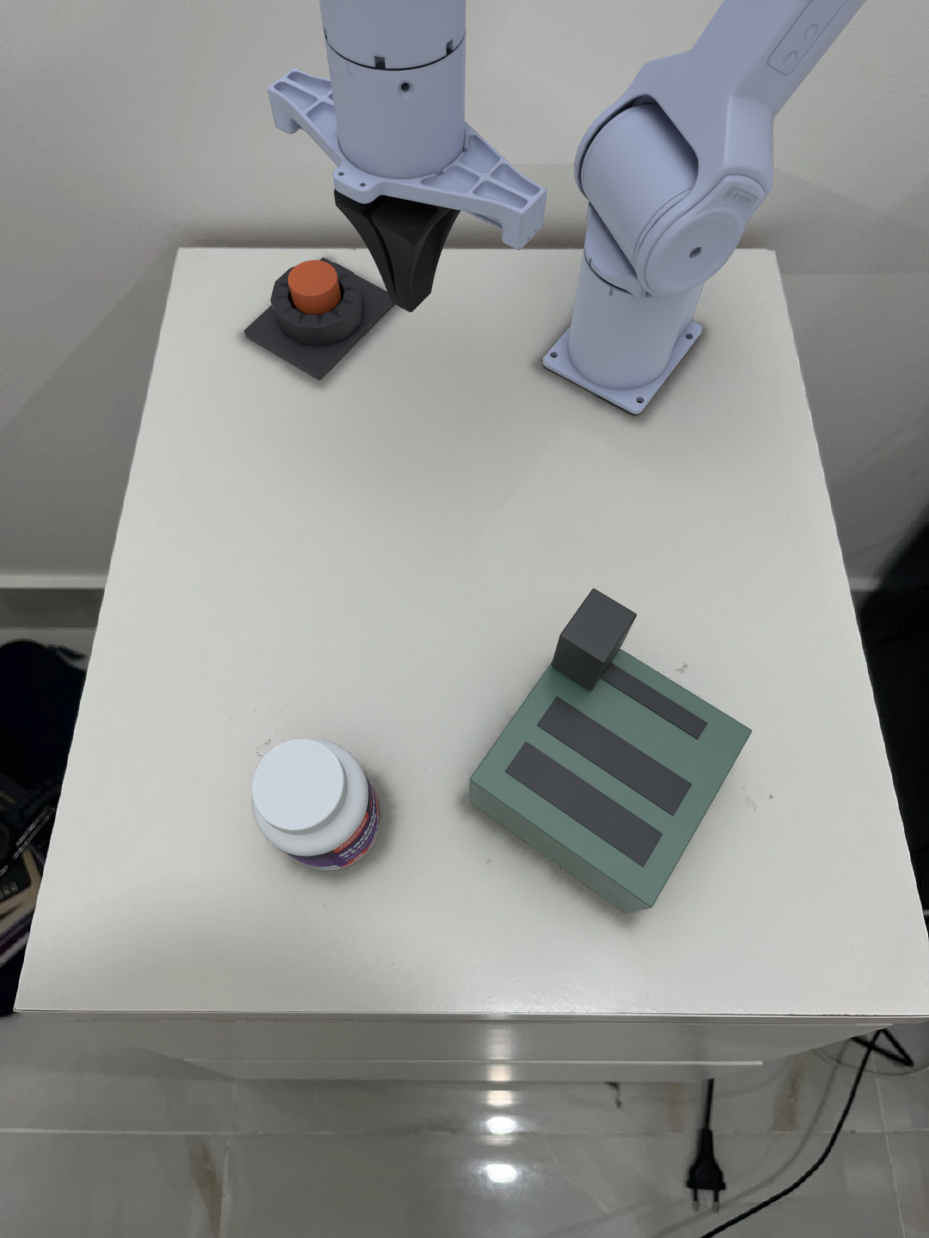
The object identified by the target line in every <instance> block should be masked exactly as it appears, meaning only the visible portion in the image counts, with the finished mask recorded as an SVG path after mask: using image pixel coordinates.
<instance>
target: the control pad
mask: <svg viewBox="0 0 929 1238" xmlns="http://www.w3.org/2000/svg"><path fill="white" fill-rule="evenodd" d="M319 260H320V261H324V262H327V263H328V264H330V265H331V266H332V267H333V268H334V269H335V270H336V273H337V277H338V282H339V288H340V293H341V298H340V301H339V303H338V305H337V306H336V307H335V308H334V309H333V310H331V311H329V312H326V313H323V314H321V315H314V314H306V313H303V312H301V311H300V310H299V309H297V308H296V306H295V305H294V302H293V299H292V295H291V291H290V288H289V284H288V276H289V273H290V271H291V270H292V269H293V268H294V267H295V266H296V265H295V266H291V267H289V268H288V269H287V270H286V271H284V272H283V274H282V275H280V276H279V277H278V278H277V279H276V280H275V281H274V284H273V287H272V292H271V295H270V299H269V301H270V306H268V307H267V308H266V309H265V310H264V311H263V312H262V313H261V314H260V315H259V316H258V317H257V318H255V319H254V320H253V321H252V322H251V323H250V324H249V325H248V326H246V328H245V329H244V330H243V332H244V335H245V338H247V339H248V340H250V341H252V342H253V343H255V344H257V345H259V346H260V347H262V348H264V349H265V350H267V351H268V352H270V353H272V354H274V355H276V356H277V357H280V358H281V359H282V360H283V361H286V362H287V363H289V364H290V365H292V366H295V367H296V368H297V369H300V370H301V371H303V372H304V373H306V374H308V375H309V376H311V377H313V378H315V379H316V380H318V381H321V380H322V379H323V378H324V377H325V376H326V375H327V374H328V373H329V372H330V371H331V370H332V369H333V368H334V367H335V366H336V365H337V364H338V362H340V360H341V359H343V357H345V356H346V355H347V353H349V352H350V350H352V349H353V348H354V346H356V344H357V343H358V342H360V340H361V339H362V338H363V337H365V336H366V334H368V332H369V331H370V330H371V329H372V328H373V327H374V326H375V325H376V324H377V323H378V322H379V321H380V320H381V319H382V318H383V317H385V315H386V314H387V313H388V312H389V311H390V310H391V309H392V308H393V307H394V306H396V305H395V304H393V303H392V301H391V299H390V296H389V294H388V292H387V290H386V289H383V288H382V287H380V286H378V285H376V284H374V283H372V282H371V281H368V280H366V279H365V278H363V277H361V276H359V275H357V274H355V272H354V271H352V270H351V269H348V268H346V267H344V266H342V265H341V264H339V263H337V262H334V261H331V260H330V259H327V258H326V257H321V258H320V259H319Z"/></svg>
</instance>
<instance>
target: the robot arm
mask: <svg viewBox="0 0 929 1238" xmlns="http://www.w3.org/2000/svg"><path fill="white" fill-rule="evenodd" d="M866 1H867V0H723V1H722V3H721V4H720V6H719V7H718V9H717V10H716V12H715V13H714V15H713V17H712V18H711V19H710V21H709V23H708V24H707V25H706V26H705V29H704V30H703V31H702V33H701V35H700V36H699V37H698V39H697V40H696V42H695V43H694V45H693V46H692V47H691V48H690V49H688V50H685V51H682V52H679V53H675V54H671V55H667V56H662V57H659V58H655V59H652V60H649V61H646V62H645V63H644V64H642V65H641V68H640V69H639V71H638V72H637V73H636V75H635V77H634V79H633V80H632V82H631V83H630V85H629V86H628V88H627V89H626V90H625V91H624V92H623V93H622V94H621V96H620V97H619V98H618V99H616V100H615V101H614V102H613V103H612V104H611V105H609V106H608V107H607V108H606V109H605V110H603V111H602V112H601V113H600V114H599V115H598V116H597V117H596V118H595V119H594V120H593V122H592V123H591V124H590V126H589V127H588V128H587V130H586V131H585V133H584V135H583V136H582V138H581V140H580V142H579V144H578V146H577V150H576V153H575V156H574V160H573V161H574V162H573V178H574V182H575V185H576V187H577V189H578V190H579V192H580V193H581V194H582V195H583V197H585V199H586V200H587V201H588V202H587V208H586V215H585V222H586V224H587V227H586V231H585V237H584V243H583V250H582V255H581V259H580V260H581V261H580V267H579V273H578V278H577V279H578V280H577V284H576V285H577V286H576V291H575V298H574V303H573V310H572V316H571V322H570V326H569V327H568V328H567V329H566V331H565V332H564V333H563V334H562V335H561V336H560V337H559V339H558V340H557V341H556V342H555V343H554V345H553V346H552V347H551V348H550V349H549V350H548V351H547V353H546V354H545V355H544V356H543V357H542V365H543V366H544V367H545V368H546V369H548V370H550V371H552V372H553V373H556V374H558V375H559V376H561V377H563V378H565V379H567V380H569V381H571V382H572V383H574V384H576V385H578V386H580V387H582V388H583V389H585V390H587V391H589V392H591V393H593V394H595V395H596V396H599V397H601V398H602V399H604V400H606V401H609V402H610V403H612V404H614V405H615V406H618V407H619V408H621V409H623V410H626V411H627V412H629V413H630V414H633V415H639V414H641V413H642V412H643V411H644V410H645V408H646V407H647V406H648V405H649V403H650V401H651V400H652V399H653V397H655V395H656V394H657V392H658V391H659V390H660V389H661V387H662V386H663V384H664V383H665V382H666V380H667V379H668V378H669V377H670V375H671V374H672V372H673V371H674V370H675V369H676V368H677V366H678V365H679V363H680V362H681V360H682V359H683V358H684V357H685V356H686V354H687V353H688V352H689V350H690V349H691V347H692V346H693V345H694V344H695V342H696V341H697V339H698V338H699V337H700V335H701V334H702V331H703V326H702V325H701V324H700V323H698V322H696V321H695V320H693V318H694V314H695V312H696V309H697V306H698V303H699V302H700V301H699V300H700V298H701V295H702V292H703V289H704V286H705V284H706V282H707V281H709V280H710V279H711V278H713V277H714V276H715V275H716V274H717V273H718V272H719V271H721V269H722V268H723V267H724V266H725V265H726V264H727V262H728V261H729V260H730V258H731V257H732V256H733V255H734V252H735V251H736V249H737V247H738V245H739V244H740V241H741V239H742V237H743V235H744V232H745V230H746V228H747V226H748V224H749V222H750V220H751V219H752V217H753V216H754V214H755V213H756V212H757V210H758V209H759V207H760V206H761V204H762V203H763V202H764V201H765V200H766V199H767V198H768V196H769V195H770V194H771V193H772V191H773V188H774V179H775V177H774V176H775V171H774V170H775V169H774V168H775V166H774V165H775V163H774V157H775V156H774V124H775V120H776V116H777V115H778V114H779V113H780V111H782V110H783V107H784V106H785V105H786V104H787V103H788V101H789V100H790V98H791V97H793V95H794V93H796V92H797V90H798V88H799V87H800V86H801V84H802V83H803V82H804V81H805V79H806V78H807V77H808V75H810V73H811V72H812V71H813V69H814V68H815V67H816V65H818V63H819V62H820V61H821V59H822V58H823V57H824V55H825V54H826V53H827V51H828V50H829V49H830V47H831V46H832V45H833V44H834V43H835V41H836V40H837V39H838V37H839V36H840V35H841V33H842V32H843V31H844V29H845V28H846V27H847V26H848V25H849V23H850V22H851V21H852V20H853V18H854V17H855V16H856V14H857V13H858V11H859V10H860V9H861V8H862V7H863V5H864V4H865V3H866ZM318 3H319V10H320V18H321V26H322V31H323V36H324V37H323V38H324V45H325V50H326V58H327V59H326V61H327V65H328V73H329V78H326V77H321V76H317V75H314V74H311V73H307V72H306V71H303V70H301V69H298V68H296V67H293V68H291V69H290V70H289V71H287V72H285V74H284V75H282V76H281V77H280V78H278V79H277V80H275V81H274V82H273V83H271V84H270V85H269V86H267V88H266V90H267V94H268V100H269V103H270V108H271V113H272V118H273V123H274V127H275V128H276V129H277V130H279V131H282V133H285V134H287V135H294V134H296V133H297V132H298V131H299V130H301V131H303V132H305V133H306V134H307V135H308V136H309V137H310V138H311V139H312V141H313V142H314V143H315V144H316V145H317V146H318V147H319V148H320V149H321V150H322V151H323V152H324V153H325V155H326V156H327V157H328V158H329V159H330V160H331V161H332V163H334V164H335V165H336V168H335V169H334V170H333V172H332V178H333V179H332V180H333V185H334V189H333V198H334V205H335V206H336V208H337V209H338V210H339V211H340V212H341V213H342V214H343V215H344V217H346V219H347V220H348V222H349V223H350V224H351V225H352V226H353V228H354V230H355V231H356V232H357V233H358V235H359V236H360V239H362V241H363V243H364V244H365V246H366V248H367V250H368V251H369V253H370V255H371V257H372V260H373V261H374V263H375V267H376V268H377V270H378V273H379V275H380V277H381V280H382V283H383V284H384V287H385V290H386V291H387V292H388V294H389V296H390V299H391V301H392V303H393V304H395V305H394V306H397V307H399V308H401V309H403V310H404V311H405V312H408V313H413V312H414V311H415V310H416V309H417V308H418V307H419V306H420V305H421V304H422V303H423V302H424V301H425V300H426V299H427V298H428V297H429V296H430V295H431V294H432V291H433V286H434V281H435V277H436V272H437V268H438V265H439V261H440V259H441V256H442V253H443V250H444V247H445V244H446V241H447V239H448V237H449V234H450V233H451V230H452V228H453V226H454V224H455V222H456V220H457V218H458V217H459V215H460V213H461V212H465V213H467V214H469V215H472V216H473V217H475V218H477V219H479V220H481V221H483V222H485V223H487V224H489V225H491V226H493V227H495V228H497V229H499V230H501V241H502V243H504V244H505V245H507V246H509V247H511V248H513V249H516V250H517V251H521V250H522V249H523V248H524V247H525V246H526V245H527V244H528V243H529V242H530V241H531V240H532V239H533V238H534V237H535V236H536V235H537V233H538V232H539V231H540V230H541V229H542V228H543V226H544V218H545V210H546V201H547V194H548V193H547V192H548V189H547V188H546V187H544V186H542V185H540V184H539V183H537V182H535V181H533V180H532V179H530V178H529V177H528V176H526V175H524V174H523V173H522V172H521V171H520V170H518V169H517V168H515V166H514V165H513V164H511V162H509V161H508V160H507V159H506V158H505V156H503V155H502V154H501V153H500V152H499V151H498V150H497V149H496V148H495V147H493V145H491V144H490V143H489V142H488V141H487V140H486V139H485V138H484V137H483V136H482V135H481V134H480V133H479V132H477V131H476V129H474V128H473V127H472V126H471V125H470V124H469V123H468V122H467V121H466V65H467V64H466V63H467V62H466V55H467V54H466V53H467V52H466V51H467V50H466V49H467V28H466V27H467V26H466V23H467V19H466V17H467V0H318Z"/></svg>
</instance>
